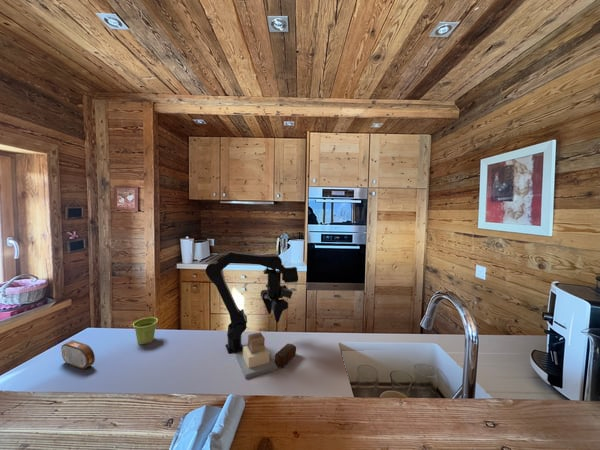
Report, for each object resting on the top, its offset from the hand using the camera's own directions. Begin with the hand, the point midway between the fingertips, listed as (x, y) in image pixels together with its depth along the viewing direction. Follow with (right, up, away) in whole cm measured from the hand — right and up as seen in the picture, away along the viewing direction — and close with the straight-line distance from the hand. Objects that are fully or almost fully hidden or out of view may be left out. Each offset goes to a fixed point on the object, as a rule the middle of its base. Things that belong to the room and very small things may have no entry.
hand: (273, 317), depth 110 cm
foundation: (-5, -13, -13) cm, 19 cm away
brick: (+6, -13, -11) cm, 18 cm away
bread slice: (-71, -11, -17) cm, 74 cm away
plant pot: (-57, -11, 0) cm, 58 cm away
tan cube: (-5, -7, -14) cm, 16 cm away
